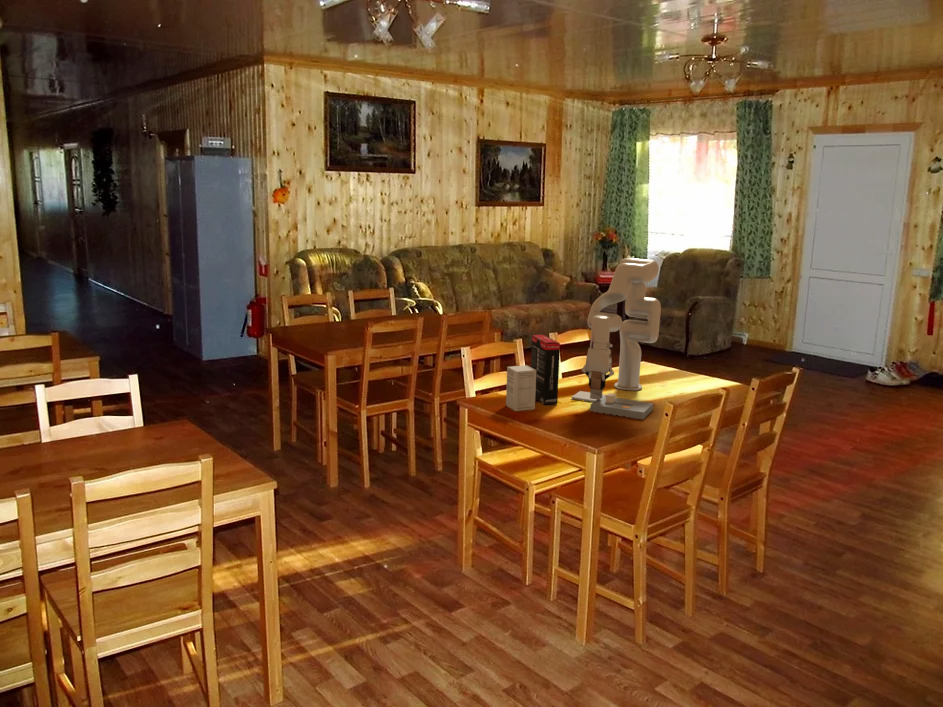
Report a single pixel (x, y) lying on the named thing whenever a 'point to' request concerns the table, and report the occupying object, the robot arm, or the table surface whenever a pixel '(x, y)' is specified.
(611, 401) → the switch tab
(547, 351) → the graphics card box
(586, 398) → the mat
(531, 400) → the supplement box
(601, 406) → the switch board
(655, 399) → the table surface
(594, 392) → the block
